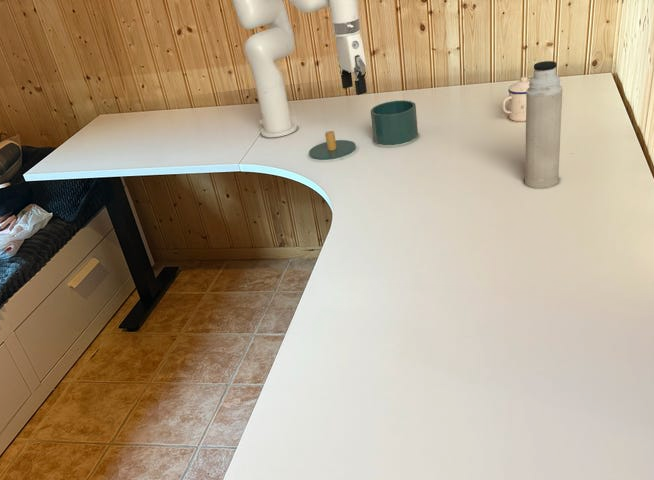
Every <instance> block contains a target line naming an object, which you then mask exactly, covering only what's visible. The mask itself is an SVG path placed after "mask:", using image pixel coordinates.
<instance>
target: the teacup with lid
mask: <svg viewBox="0 0 654 480" xmlns="http://www.w3.org/2000/svg"><path fill="white" fill-rule="evenodd" d="M529 84H530V79H529V78H528V77H527V76H522V77H520V80H518V81H517V82H515V83H512V84H511V85H510V86H509V87H508V90H507V91H508V96H506V97H505V98H503V100H502V101H501V108H502V112H504V113H505V114H508V118H509V120H511V121H514V122H526V91H527V89H528V88H530V87H529ZM507 101H508V110H507V108H506V103H507Z"/></svg>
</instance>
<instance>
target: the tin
mask: <svg viewBox="0 0 654 480" xmlns="http://www.w3.org/2000/svg"><path fill="white" fill-rule="evenodd" d="M417 118H418V115H417V105H416V103H415V102H413V101H412V100H405V99H403V100H391V101H386V102H383V103H379V104H377V105H375V106H373V107H372V108H371V109H370V119H371V127H372V135H373V142H374V143H375V144H377V145H381V146H397V145H402V144H405V143H409V142H412V141H413V140H415V139H416V138H417V137H418V136H419V129H418V119H417Z"/></svg>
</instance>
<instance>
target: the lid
mask: <svg viewBox="0 0 654 480" xmlns="http://www.w3.org/2000/svg"><path fill="white" fill-rule="evenodd" d="M324 136H325V141H324V142H321V143H319V144H316V145H315V146H313V147H312V148H311V149H309V151H308V155H309V157H310V158H311V159H314V160H321V161H322V160H323V161H325V160H334V159H339V158H343V157H346V156H348V155H350V154H352V153H353V152H354V151H356V149H357V145H356V143H355V142H354V141H351V140H347V139H338V140H337V139H336V135H335V131H333V130H329V131H328V130H327V131H325V133H324Z"/></svg>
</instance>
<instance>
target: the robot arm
mask: <svg viewBox="0 0 654 480" xmlns="http://www.w3.org/2000/svg"><path fill="white" fill-rule="evenodd" d="M231 1H232V4H233V7H234V10H235V14H236V16H237V19H238V21H239V24H240V25H241V26H242V28H243V29H246V30H248V31H250V30H255V29H258V28H261V27H264V26H268V29H264V30H262V31H259V32H256V33H254V34H252V35H250V36H249V37H248V38H247V39H246V40H245V43H244V47H243V48H244V55H245V57H246V60H247V63H248V64H249V67H250V71H251V73H252V76H253V77H252V78H253V81H254V85H255V89H256V95H257V98H258V104H259V109H260V112H261V119H259V121H258V122H259V124H261V125H262V126H263V128H262V129H261V130H260V134H261V136H262V137H264V138H279V137H284V136H288V135H290V134H293V133H294V132H296V130H297V129H298V124H297V123H296V122H293V121H292V117H291V116H292V115H291V111H290V107H289V106H290V105H289V100H288V96H287V92H286V86H285V81H284V76H283V73H282V72H281V70H280V69H279V68H278V66H277V65H276V63H275V62H277V61H279V60H282V59H284V58H287V57H289V56H291V55H292V54H293V53H294V51H295V48H296V42H295V41H296V40H295V35H294V31H293V28H292V26H291V23H290V22H291V21H290V19H289V16H288V12H287V9H286V6H285V4H284V1H283V0H231ZM288 1H289V3H291V4H292V5H293V6H294V7H295V8H296V9H298V10H299V11H300V12H302V13H305V14H311V13H315V12H317V11H320V10H323V9H327V8H329V9H330V17H331V24H332V31H333V36H334V37H335V46H336V55H337V56H336V58H337V62H338V67H339V73H340V79H341V87H342V89H348V88H352V87H353V86H354V88H355V93H356V94H355V95H356V96H361V95H364V94H367V92H368V90H367V82H366V79H367V78H366V77H367V76H366V73H367V72H366V69H367V60H366V55H365V49H364V43H363V39H362V35H361V26H360V18H359V7H358V0H288ZM352 74H353V75H352ZM353 77H354V79H355V80H354V83H353Z"/></svg>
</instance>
